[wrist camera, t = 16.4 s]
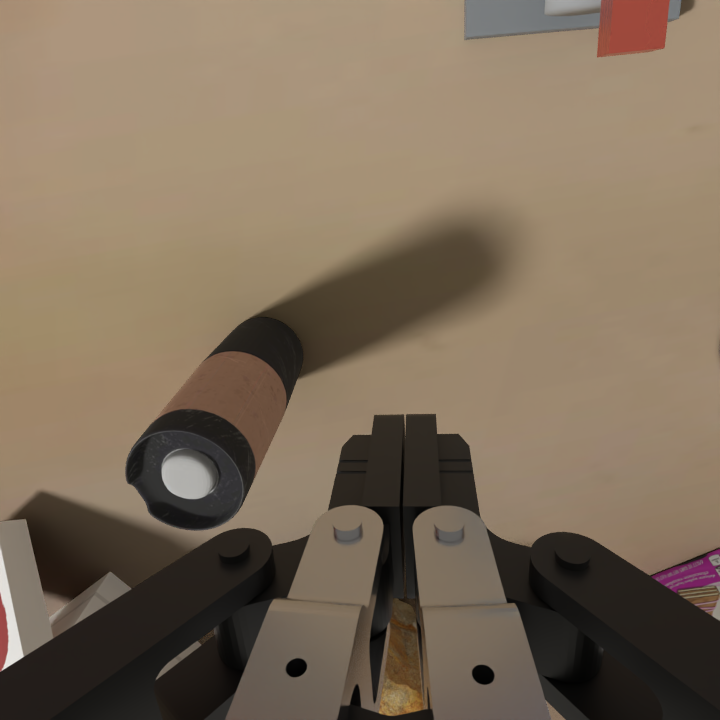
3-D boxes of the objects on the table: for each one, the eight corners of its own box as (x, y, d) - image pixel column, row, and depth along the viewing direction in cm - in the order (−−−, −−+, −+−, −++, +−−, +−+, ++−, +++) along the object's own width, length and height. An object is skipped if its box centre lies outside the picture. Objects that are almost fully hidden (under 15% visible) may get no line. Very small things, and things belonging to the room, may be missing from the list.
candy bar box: (720, 543, 56) (830, 701, 41) (740, 576, 57) (854, 740, 42) (614, 586, 59) (680, 746, 44) (635, 616, 61) (706, 781, 46)
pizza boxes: (28, 490, 62) (-114, 628, 45) (225, 649, 69) (165, 817, 52) (-59, 569, 68) (-211, 715, 51) (130, 707, 75) (50, 874, 59)
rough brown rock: (397, 503, 59) (378, 612, 45) (465, 621, 62) (466, 755, 49) (220, 566, 66) (156, 677, 52) (291, 669, 70) (249, 798, 56)
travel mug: (317, 331, 51) (261, 455, 32) (292, 400, 54) (229, 548, 36) (237, 301, 50) (134, 409, 32) (216, 372, 53) (113, 508, 35)
